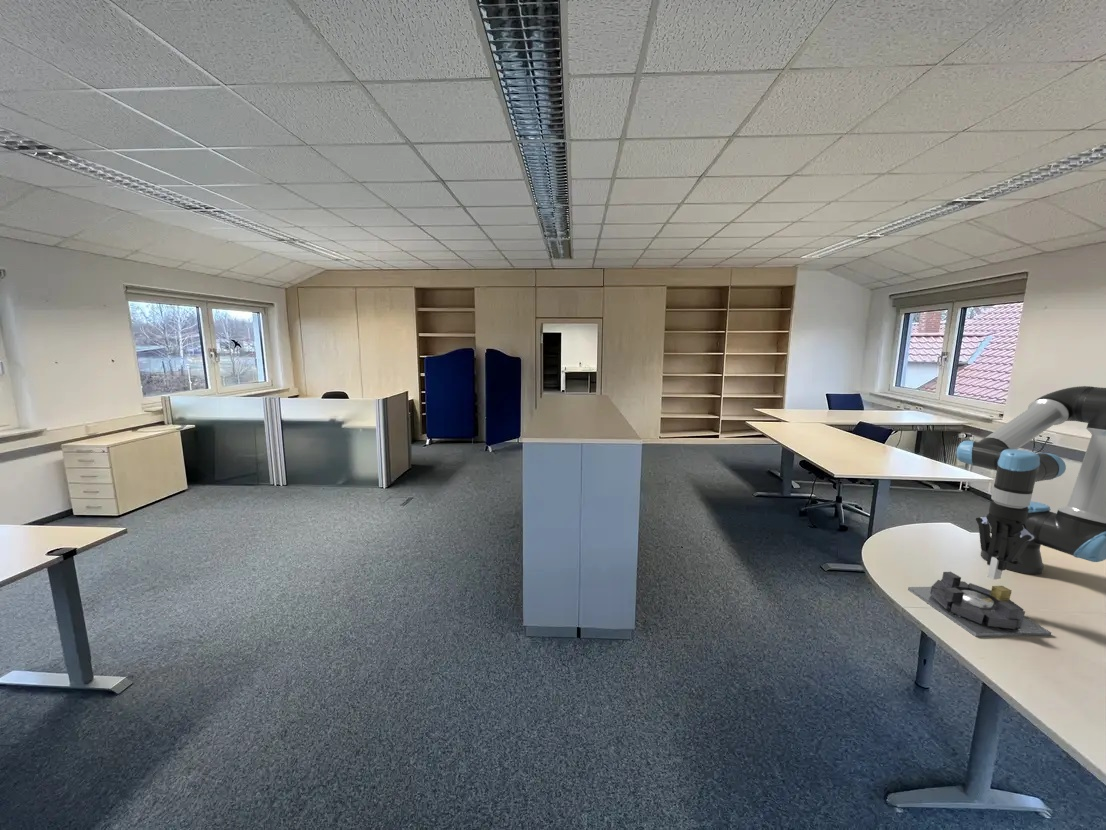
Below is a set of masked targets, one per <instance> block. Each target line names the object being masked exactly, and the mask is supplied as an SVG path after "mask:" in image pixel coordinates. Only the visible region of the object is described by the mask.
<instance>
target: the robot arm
mask: <svg viewBox="0 0 1106 830" xmlns="http://www.w3.org/2000/svg"><path fill="white" fill-rule="evenodd" d="M1065 422H1077V423H1086V424H1087V426H1086V430H1087V431H1088V432H1089V434H1091V437H1090V439H1089V442H1088V445H1087V448H1086V451H1085V452H1084V453H1085V454H1084V457H1083V460H1082V463H1081V465H1080V469H1079V471H1078V474H1077V475H1076V476H1077V477H1076V479H1075V482H1074V486H1073V488H1072V490H1071V494H1070V497H1069V498H1068V499H1069V500H1068V502H1067V505H1066V506H1063V507H1060V508H1058V509H1057V512H1053V511H1051V507H1050V506H1049V505H1048V504H1045V503H1042V502H1037V501H1032V496H1033V491H1034V487H1035V484H1036V482H1043V481H1052V480H1053V479H1055V478H1058V477H1059V478H1060V477H1061V476H1063V474H1064V473H1065V472H1066V469H1067V465H1066V462H1065V461H1064V460H1063V459H1062V457H1060V456H1058V455H1057V454H1053V453H1049V452H1037V453H1036V452H1033V451H1029V450H1024V449H1023V450H1022V449H1020V448H1022V447H1023V446H1024V445H1026V444H1028V443H1029V442H1030V441H1033V439H1035V438H1036V437H1038V436H1039V435H1041V434H1043V433H1044V432H1045V431H1047V430H1048V429H1050V428H1052V427H1053V426H1058V425H1061V424H1064V423H1065ZM956 458H957V460H958V461H959V462H961V463H963V464H968V465H971V466H974V467H979V468H984V469H988V470H991V471H996V473H995V474H996V475H995V479H994V480H995V481H994V483H993V487H992V493H991V499H990V500H991V501H990V502H989V507H988V514H987V515H986V516H981V517H979V516H978V517H976V518H975V522H976V523H977V525H978V531H979V534H978V535H979V542H980V549H981V551H980V557H981V558H982V559H984V561H986V564H987V566H989V568H988V572H987V577H988V578H989V579H990V580H991V579H992V580H1000V579H1001V578H1002V574H1003V571H1006V570H1008V571H1011V572H1016V573H1020V574H1026V575H1040V574H1043V570H1044V568H1045V566H1044V563H1043V558H1042V553H1041V546H1044V547H1046V548H1049V549H1052V550H1056V551H1058V552H1061V553H1064V554H1067V555H1070V556H1073V557H1074V558H1077V559H1082V560H1085V561H1089V562H1092V563H1100V562H1103V561H1106V387H1099V386H1090V385H1089V386H1087V385H1082V386H1080V385H1079V386H1073V387H1067V388H1062V389H1059V390H1055V391H1052V392H1050V393H1046V394H1044V395H1042V396H1040V397H1038V398H1037V399H1034V400H1033V401H1032V402H1031V403H1030V404H1029V405H1028V407H1027V409H1026V410H1025V411H1023V412H1022V413H1020V414H1019V415H1017V416H1016V417H1014V418H1013V419H1011V420H1009V421H1008V422H1006V423H1005V424H1003V425H1002V426H1000V427H999V428H997V429H995V431H994V432H991V433H990V434H989V435H987V436H985V437H984V438H982V439H981V440H979V441H976V440H964V441H962V442H960V444H959V445H958V446H957V449H956Z"/></svg>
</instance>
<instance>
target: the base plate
mask: <svg viewBox="0 0 1106 830" xmlns="http://www.w3.org/2000/svg"><path fill="white" fill-rule="evenodd" d="M931 587H932V586H908V588H907V591H909V592H911V594H914V595H915V596H916V597H918V598H919V599H920V600H922V601H923V602H925V603H926V604H927V605H930V606H931V607H932V608H933V609H935V610H936V611H938V612H939V613H941V614H942V615H943V616H945V617H946V618H948V619H950V621H952V622H953V623H955V624H956V625H958V626H959V627H961V628H962V629H964V630H965V631H966V632H968V633H969V634H971V635H972V636H974V637H975V638H979V637H980V638H981V637H982V638H984V637H987V638H988V637H993V638H994V637H1048V636H1049V637H1050V636H1052V632H1051V631H1050V630H1048V629H1046V628H1044V627H1042V626H1041V625H1039V624H1037V623H1036V622H1035V621H1033V620H1031V619H1029V618H1028V617H1026V616H1024V619H1023V621H1022V623H1021V625H1020V627H1019V628H1015V629H1011V628H1003V627H994V626H987V625H986V624H985V623H984V622H983V623H982V624H980V623H978V622H975V621H973V620H970V619H968V618H965V617H963V616H960V615H958V614H955V613H953V612H951V609H946V608H944V607H943V606H942V605H941V604H940V603H939V602H938V601H936V600H935V599H934V598H933V597H932V596H931V594H930V592H931ZM961 591H962V592H964V594H963V599H962V602H963V603H966V604H969V605H971V606H974V607H976V608H979V609H982V610H988V611H995V609H996V607H995V606H993V604H994V602H993V600H992V599H990V598H989V597H987V596H985V595H983V594H980V593H978V592H974V591H970V590H961Z"/></svg>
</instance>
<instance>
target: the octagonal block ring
mask: <svg viewBox="0 0 1106 830" xmlns="http://www.w3.org/2000/svg"><path fill="white" fill-rule="evenodd" d="M961 579H962V577H961V576H959V575H957V574H955V573H954V572H952V571H943V574H942V578H941V579H937V580H936V581H935V582H934V584H933V585H932V586H930V587H931V592H930V594H931V596H932V597H933V598H934V599H935V600H936V601H938V602H939V603H940V604H941V605H942V606H943V607H944V608H946V609H951V612H953V613H955V614H958V615H960V616H963V617H965V618H968V619H970V620H973V621H975V622H978V623H980V624H982V623H983V622H984V623H985V624H986V625H987V626H994V627H1003V628H1011V629H1015V628H1019V627H1020V625H1021V623H1022V621H1023V619H1024V617H1025V616H1026V615H1025V614H1026V611H1024V608H1022V607H1021V606H1020V605H1018V604H1017V603H1016V602H1014V601H1012V599H1010V598H1011V595H1012V589H1009V588H1007V587H1006V586H1004V585H992V587H991V589H989V588H986V587H983V586H981V585H977V584H974V583H971V582H969V583H967V582H966V581H961ZM961 590H970V591H974V592H978V593H980V594H983V595H985V596H987V597H989V598H990V599H992V600H993V602H994V604H993V606H995V607H996V609H995V611H988V610H982V609H979V608H976V607H974V606H971V605H969V604H966V603H963V602H962V599H963V594H964V592H962V591H961Z"/></svg>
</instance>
